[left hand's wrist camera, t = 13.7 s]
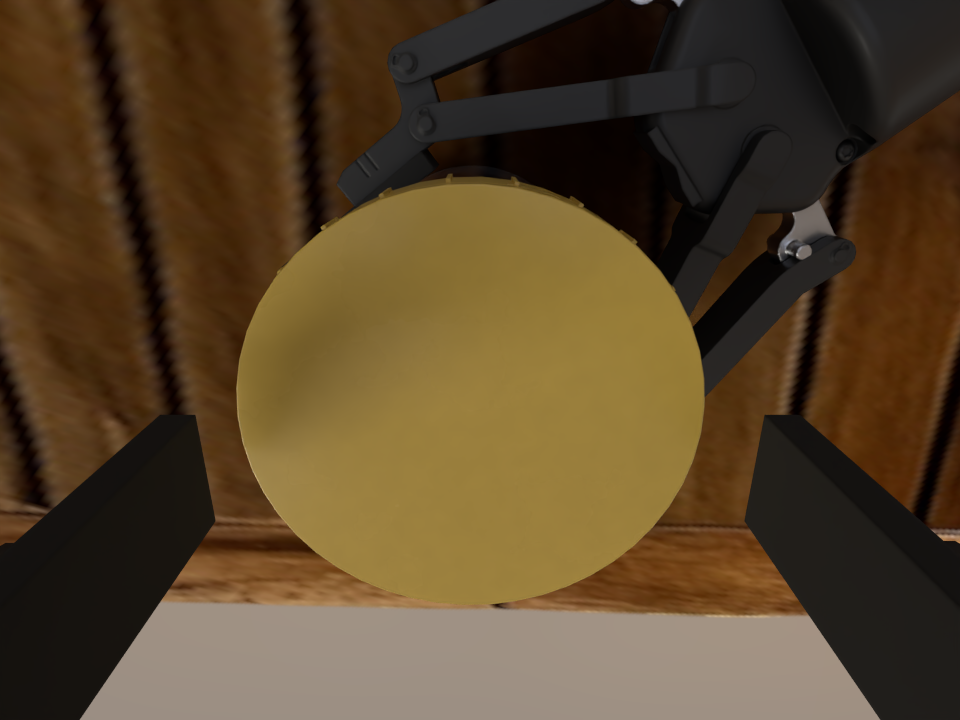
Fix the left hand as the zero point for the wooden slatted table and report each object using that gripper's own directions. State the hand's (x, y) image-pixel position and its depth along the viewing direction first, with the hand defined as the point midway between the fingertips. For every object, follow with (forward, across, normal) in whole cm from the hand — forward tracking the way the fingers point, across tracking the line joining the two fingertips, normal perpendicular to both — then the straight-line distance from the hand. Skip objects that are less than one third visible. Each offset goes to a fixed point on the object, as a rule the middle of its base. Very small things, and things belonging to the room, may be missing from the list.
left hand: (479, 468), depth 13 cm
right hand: (+11, -4, -2) cm, 12 cm away
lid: (+2, 0, 0) cm, 2 cm away
